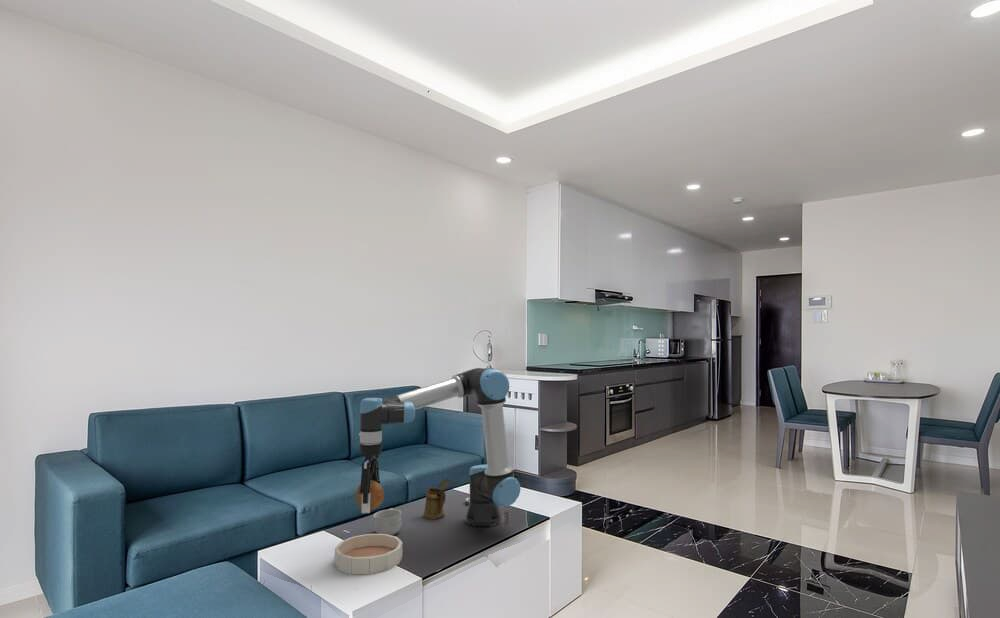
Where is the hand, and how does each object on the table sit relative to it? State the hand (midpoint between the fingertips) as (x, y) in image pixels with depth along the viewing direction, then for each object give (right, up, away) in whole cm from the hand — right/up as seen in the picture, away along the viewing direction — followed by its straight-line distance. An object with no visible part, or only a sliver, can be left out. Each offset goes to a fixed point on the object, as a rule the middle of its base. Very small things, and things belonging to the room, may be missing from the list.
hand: (369, 507), depth 184 cm
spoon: (+40, -23, +74) cm, 87 cm away
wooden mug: (+18, -21, +44) cm, 52 cm away
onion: (0, -1, 0) cm, 1 cm away
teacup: (+1, -20, +26) cm, 32 cm away
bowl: (0, -18, -1) cm, 18 cm away
